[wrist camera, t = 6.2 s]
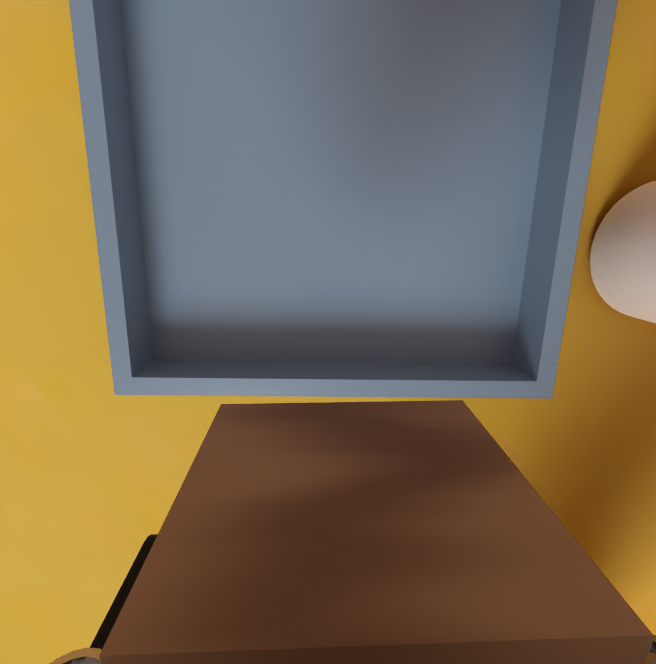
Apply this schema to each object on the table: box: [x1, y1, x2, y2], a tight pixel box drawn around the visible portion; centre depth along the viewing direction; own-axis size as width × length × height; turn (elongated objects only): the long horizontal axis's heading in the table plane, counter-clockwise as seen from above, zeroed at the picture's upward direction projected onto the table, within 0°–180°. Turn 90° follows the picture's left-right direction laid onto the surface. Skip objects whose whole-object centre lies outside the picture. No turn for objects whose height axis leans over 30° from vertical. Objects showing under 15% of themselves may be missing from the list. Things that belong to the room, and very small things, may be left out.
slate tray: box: [69, 0, 617, 398], centre depth 22 cm, size 24×24×4 cm
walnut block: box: [99, 400, 653, 664], centre depth 8 cm, size 6×6×6 cm
